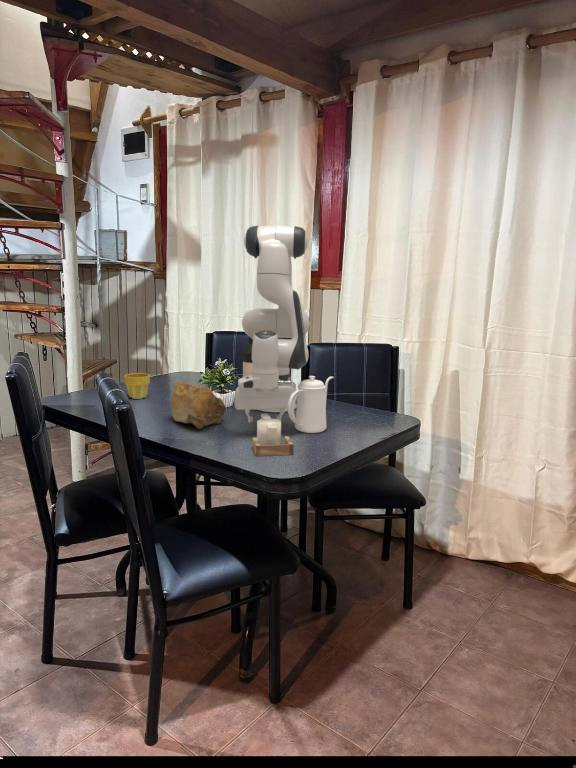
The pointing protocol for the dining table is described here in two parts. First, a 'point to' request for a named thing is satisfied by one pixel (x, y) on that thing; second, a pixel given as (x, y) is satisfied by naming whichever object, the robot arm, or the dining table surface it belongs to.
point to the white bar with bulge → (268, 430)
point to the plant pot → (137, 384)
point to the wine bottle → (247, 359)
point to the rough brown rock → (196, 405)
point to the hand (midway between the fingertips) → (264, 421)
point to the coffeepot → (309, 406)
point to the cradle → (273, 448)
